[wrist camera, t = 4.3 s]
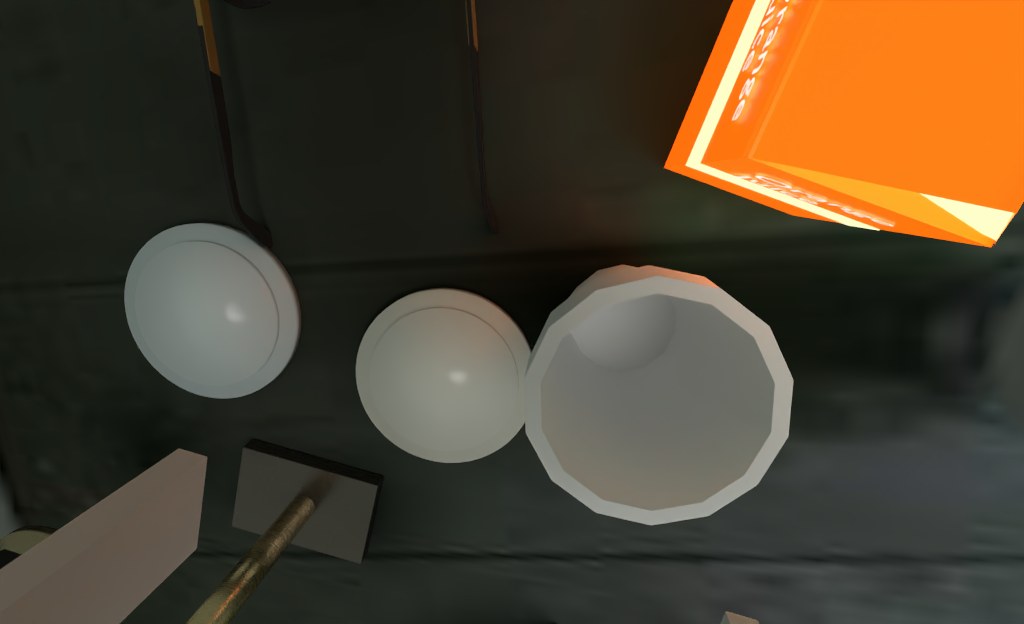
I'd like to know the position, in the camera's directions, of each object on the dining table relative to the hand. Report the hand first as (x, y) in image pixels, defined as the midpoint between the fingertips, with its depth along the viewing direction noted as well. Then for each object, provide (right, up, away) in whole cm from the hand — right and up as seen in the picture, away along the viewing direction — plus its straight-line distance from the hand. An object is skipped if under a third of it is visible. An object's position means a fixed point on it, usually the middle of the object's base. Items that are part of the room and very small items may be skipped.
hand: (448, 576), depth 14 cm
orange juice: (+15, +17, +16) cm, 27 cm away
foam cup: (+8, +6, +19) cm, 21 cm away
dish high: (-2, +3, +21) cm, 21 cm away
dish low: (-17, +7, +21) cm, 28 cm away
